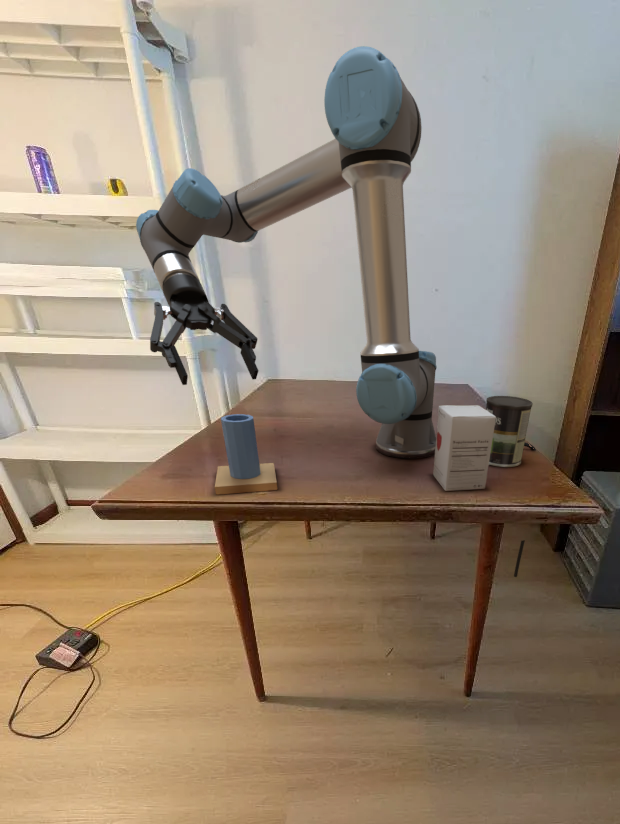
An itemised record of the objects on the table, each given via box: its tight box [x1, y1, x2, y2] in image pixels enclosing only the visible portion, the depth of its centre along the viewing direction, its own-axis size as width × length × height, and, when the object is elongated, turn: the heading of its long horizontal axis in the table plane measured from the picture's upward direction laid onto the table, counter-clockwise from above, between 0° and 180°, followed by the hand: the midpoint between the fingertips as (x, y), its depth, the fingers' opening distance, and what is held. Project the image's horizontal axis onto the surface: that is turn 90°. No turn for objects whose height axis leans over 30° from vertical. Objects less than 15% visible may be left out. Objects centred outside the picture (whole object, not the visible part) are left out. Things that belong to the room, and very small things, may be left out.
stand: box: [214, 462, 278, 496], centre depth 82 cm, size 11×11×11 cm
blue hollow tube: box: [220, 413, 261, 479], centre depth 82 cm, size 6×6×11 cm
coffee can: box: [485, 395, 534, 468], centre depth 100 cm, size 10×10×14 cm
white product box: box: [432, 404, 496, 492], centre depth 86 cm, size 9×9×15 cm
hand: (222, 377), depth 83 cm, fingers open, 13 cm apart
